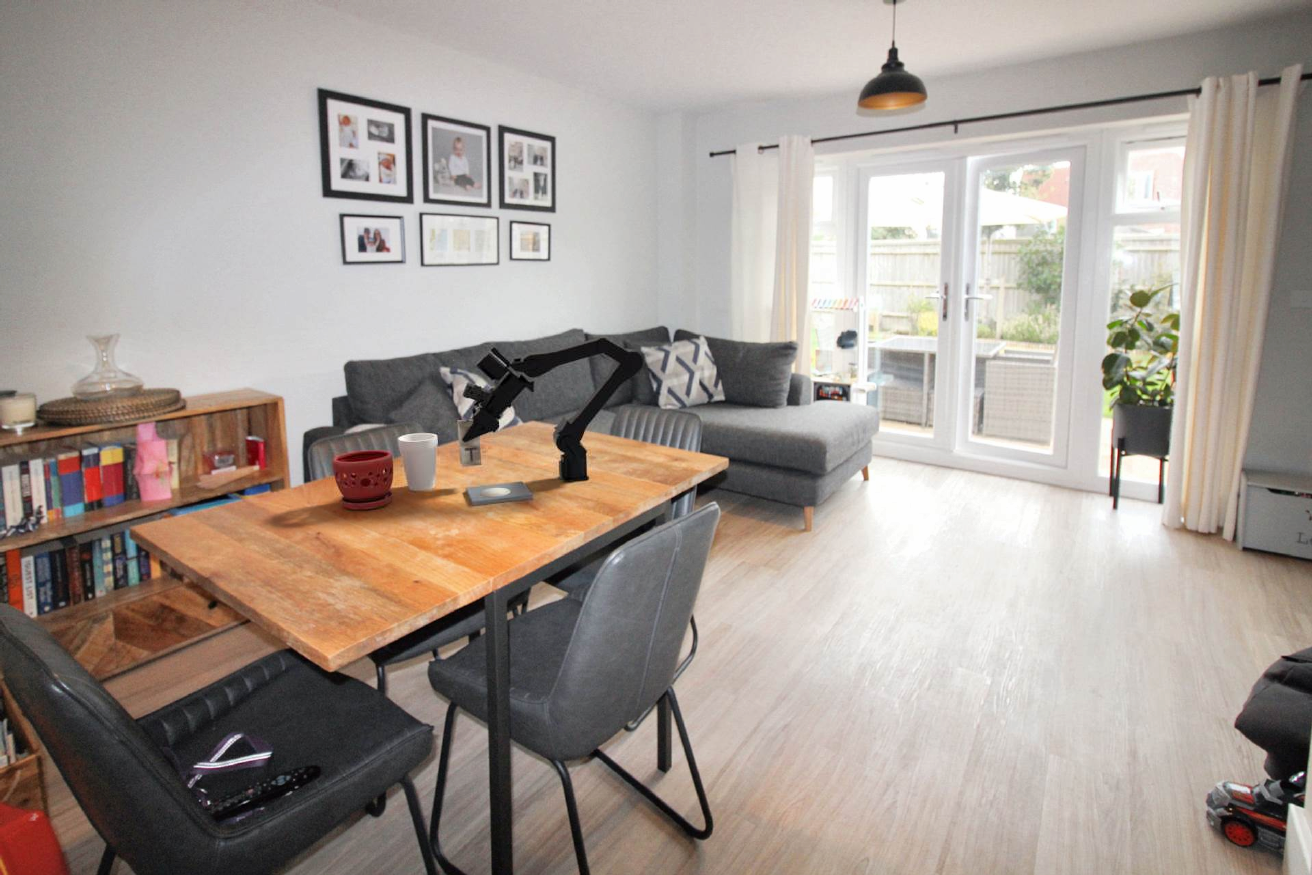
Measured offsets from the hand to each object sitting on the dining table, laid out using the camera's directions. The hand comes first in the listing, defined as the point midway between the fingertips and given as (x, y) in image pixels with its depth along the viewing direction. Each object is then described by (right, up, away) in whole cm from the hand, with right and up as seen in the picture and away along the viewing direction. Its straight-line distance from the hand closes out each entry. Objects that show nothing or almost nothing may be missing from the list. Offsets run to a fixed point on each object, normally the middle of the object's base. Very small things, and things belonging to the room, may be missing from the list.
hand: (463, 438), depth 186 cm
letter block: (+1, -6, +2) cm, 7 cm away
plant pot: (-20, -16, -10) cm, 27 cm away
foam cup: (-11, -12, +3) cm, 17 cm away
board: (+10, -14, -4) cm, 17 cm away
